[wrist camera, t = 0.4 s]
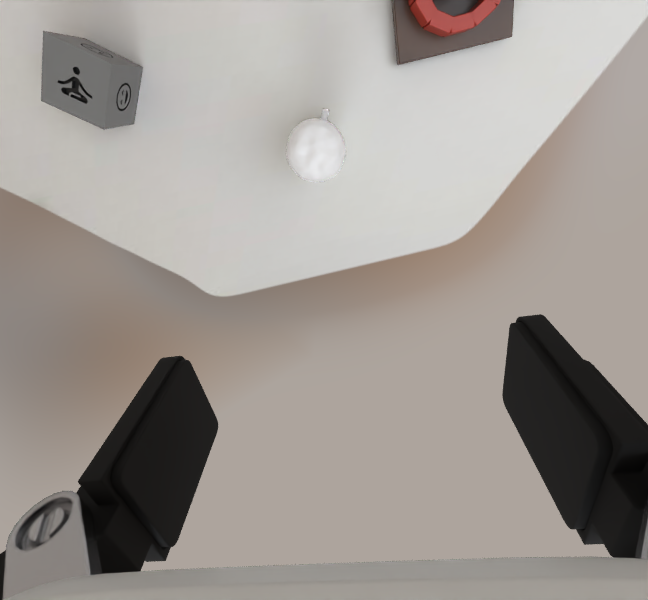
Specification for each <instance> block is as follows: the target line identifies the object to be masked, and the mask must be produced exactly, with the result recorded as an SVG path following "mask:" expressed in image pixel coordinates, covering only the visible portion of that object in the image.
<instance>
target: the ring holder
mask: <svg viewBox="0 0 648 600" xmlns="http://www.w3.org/2000/svg"><path fill="white" fill-rule="evenodd" d="M432 1H433V2H434V4H435V6H436V8H437V9H438V10H440V11H442V12H445V13H447V14H449V15H452V16H457V15H461V14H465V13H467V12H468V11H469V10H470V9H471V8H472V7H473V6H474V5H475V4H477V2H478V0H432ZM410 7H411V6H409V2H408V0H392V10H393V21H394V32H395V44H396V55H397V65H400V64H404V63H408V62H412V61H416V60H420V59H424V58H428V57H432V56H437V55H441V54H445V53H449V52H453V51H457V50H461V49H465V48H469V47H473V46H477V45H481V44H485V43H489V42H493V41H497V40H501V39H505V38H509V37H512V28H513V7H514V0H501V1H500V3H499V5H497V7H496V9H495V10H493V11H492V12H491V13H490V14H489V15H488V16H487V17H486V18H485V19H484V20H483V21H482V22H481V23H480V24H478V25H477V26H475V27H474V28H472V29H470V30H468V31H465V32H462V33H458V34H454V35H450V36H446V37H444V36H442V37H441V36H438V35H436V34H434V33H431V32H429V31H427V30H424V29H423V27H424V26H423V27H421V26H420V24H419V23H418V21H417V19H416V18H415V16H414V14H413V13H412V11H411V9H410Z"/></svg>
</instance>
